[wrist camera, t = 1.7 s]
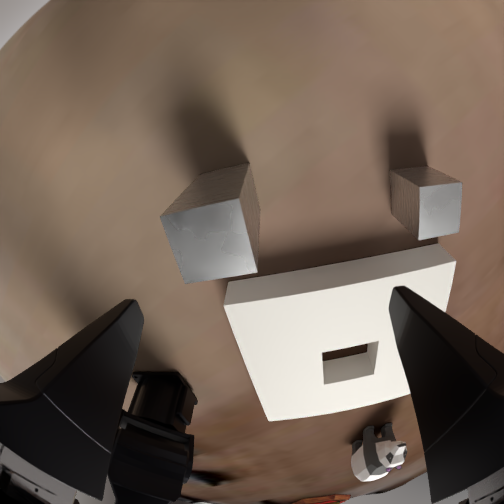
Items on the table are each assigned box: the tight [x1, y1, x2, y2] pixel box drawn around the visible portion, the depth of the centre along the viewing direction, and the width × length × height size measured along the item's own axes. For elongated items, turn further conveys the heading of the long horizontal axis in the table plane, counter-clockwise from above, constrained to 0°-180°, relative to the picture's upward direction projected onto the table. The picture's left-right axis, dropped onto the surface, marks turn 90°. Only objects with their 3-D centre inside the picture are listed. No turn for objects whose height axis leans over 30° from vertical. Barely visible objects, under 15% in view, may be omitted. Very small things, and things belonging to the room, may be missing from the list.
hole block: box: [224, 243, 456, 421], centre depth 24 cm, size 18×18×3 cm
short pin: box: [389, 166, 462, 240], centre depth 16 cm, size 3×3×4 cm
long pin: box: [160, 163, 260, 284], centre depth 15 cm, size 3×3×8 cm
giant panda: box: [351, 423, 407, 481], centre depth 31 cm, size 15×6×10 cm, turn 178°
